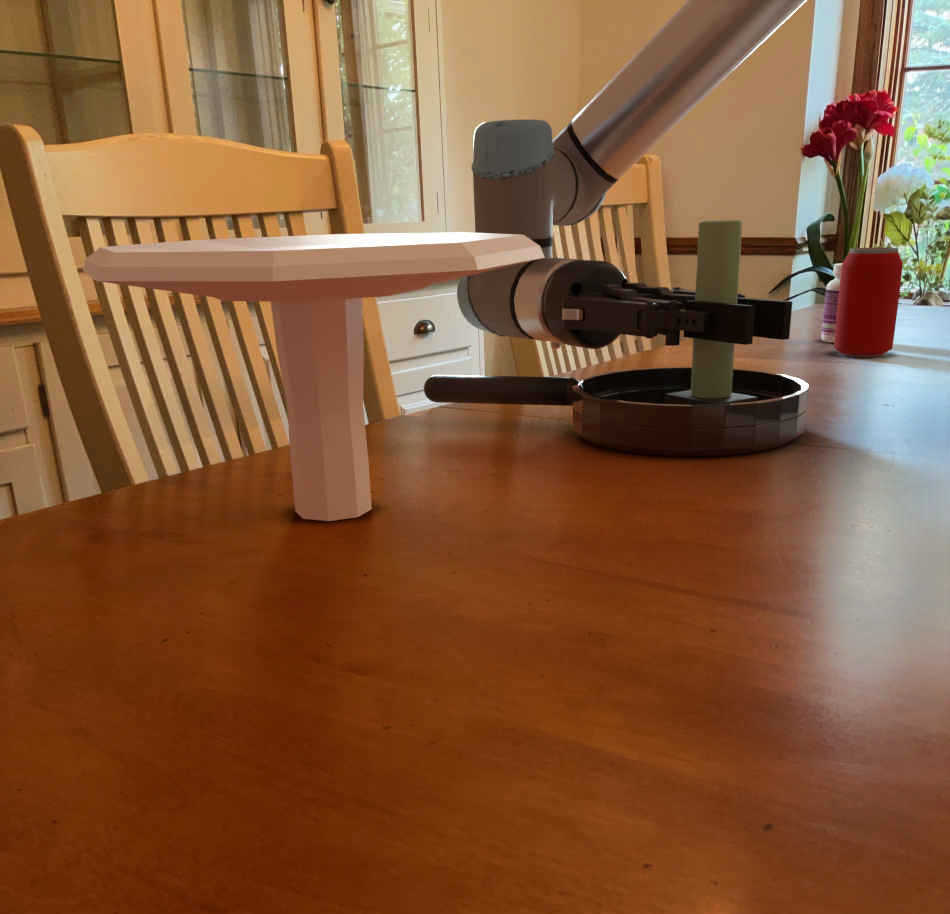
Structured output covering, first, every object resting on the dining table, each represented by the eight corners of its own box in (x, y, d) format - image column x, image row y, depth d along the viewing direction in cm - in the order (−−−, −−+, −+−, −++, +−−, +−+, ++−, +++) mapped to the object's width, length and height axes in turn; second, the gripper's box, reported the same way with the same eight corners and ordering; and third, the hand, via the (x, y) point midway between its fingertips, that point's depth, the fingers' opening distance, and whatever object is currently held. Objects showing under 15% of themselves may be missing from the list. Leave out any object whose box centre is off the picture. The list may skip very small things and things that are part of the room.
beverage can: (896, 351, 127) (909, 247, 122) (885, 359, 122) (899, 250, 117) (839, 349, 130) (850, 247, 126) (826, 356, 125) (837, 250, 120)
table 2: (35, 518, 69) (-18, 250, 63) (362, 444, 87) (347, 231, 81) (284, 622, 51) (245, 258, 44) (633, 502, 69) (641, 231, 62)
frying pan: (804, 413, 94) (808, 368, 92) (802, 463, 77) (808, 409, 75) (594, 408, 99) (594, 365, 98) (549, 453, 82) (549, 402, 81)
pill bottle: (848, 345, 134) (857, 265, 130) (812, 341, 137) (819, 264, 134) (871, 340, 137) (880, 262, 133) (835, 337, 141) (843, 261, 137)
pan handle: (585, 403, 91) (586, 375, 90) (580, 408, 89) (580, 379, 88) (429, 399, 95) (428, 372, 94) (420, 404, 93) (419, 376, 92)
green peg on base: (663, 430, 86) (671, 222, 80) (702, 423, 88) (713, 219, 82) (715, 442, 81) (728, 222, 75) (755, 434, 83) (771, 219, 77)
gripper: (641, 337, 101) (837, 363, 82) (501, 354, 93) (684, 387, 74) (643, 254, 98) (848, 262, 79) (499, 264, 90) (689, 276, 71)
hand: (768, 322), depth 77 cm, fingers closed on green peg on base, 3 cm apart
